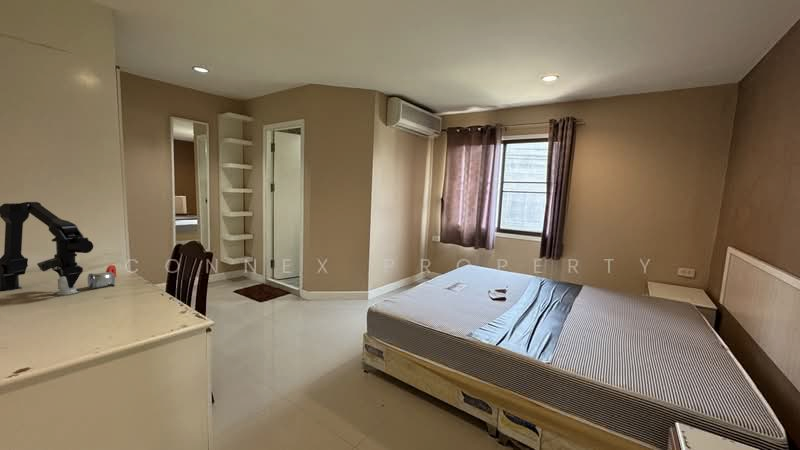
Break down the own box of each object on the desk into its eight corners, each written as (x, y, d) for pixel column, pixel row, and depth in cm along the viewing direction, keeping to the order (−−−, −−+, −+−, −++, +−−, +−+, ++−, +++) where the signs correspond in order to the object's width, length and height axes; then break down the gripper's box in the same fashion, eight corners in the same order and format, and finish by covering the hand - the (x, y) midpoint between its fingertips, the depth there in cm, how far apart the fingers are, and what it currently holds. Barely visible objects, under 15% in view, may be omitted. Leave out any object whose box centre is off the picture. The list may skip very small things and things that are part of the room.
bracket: (105, 278, 167) (105, 264, 166) (116, 278, 169) (115, 264, 168) (91, 285, 156) (91, 269, 155) (103, 284, 157) (102, 269, 156)
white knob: (74, 289, 147) (73, 274, 146) (77, 291, 144) (77, 276, 143) (56, 292, 142) (55, 276, 141) (60, 294, 139) (59, 278, 138)
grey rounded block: (87, 287, 152) (86, 272, 151) (108, 284, 158) (108, 269, 158) (93, 290, 147) (93, 275, 147) (115, 287, 154) (115, 272, 153)
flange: (50, 293, 141) (50, 292, 141) (78, 288, 149) (78, 287, 149) (56, 297, 137) (56, 296, 137) (84, 292, 144) (84, 291, 144)
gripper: (33, 251, 139) (35, 286, 140) (45, 257, 130) (47, 294, 131) (68, 248, 149) (70, 281, 150) (82, 253, 139) (84, 288, 140)
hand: (67, 286), depth 143 cm, fingers open, 9 cm apart
